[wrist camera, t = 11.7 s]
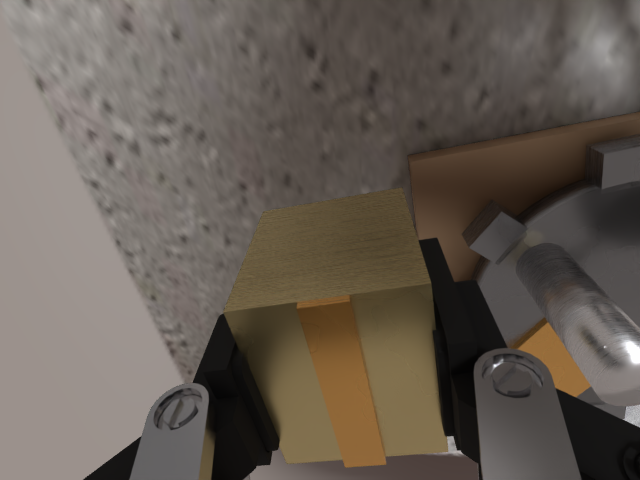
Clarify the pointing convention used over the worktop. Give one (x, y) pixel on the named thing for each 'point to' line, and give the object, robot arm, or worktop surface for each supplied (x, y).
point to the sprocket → (572, 277)
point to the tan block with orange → (341, 330)
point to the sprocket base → (499, 179)
